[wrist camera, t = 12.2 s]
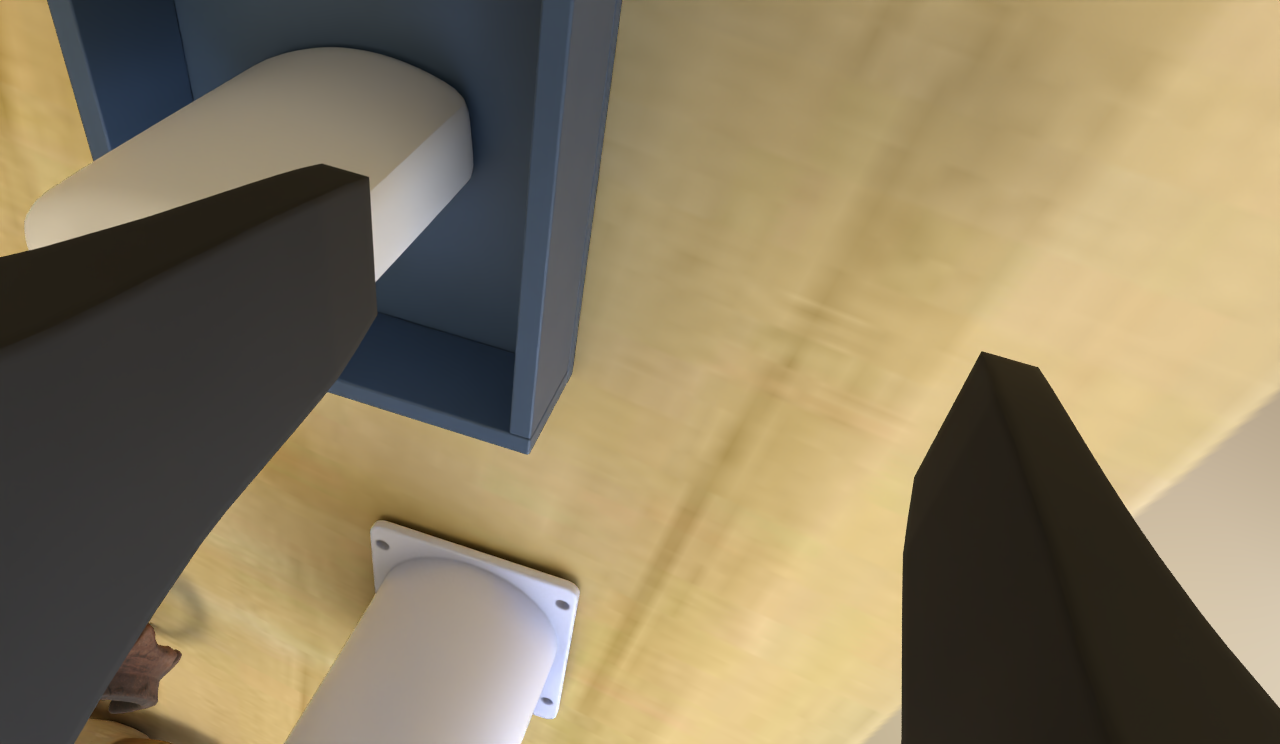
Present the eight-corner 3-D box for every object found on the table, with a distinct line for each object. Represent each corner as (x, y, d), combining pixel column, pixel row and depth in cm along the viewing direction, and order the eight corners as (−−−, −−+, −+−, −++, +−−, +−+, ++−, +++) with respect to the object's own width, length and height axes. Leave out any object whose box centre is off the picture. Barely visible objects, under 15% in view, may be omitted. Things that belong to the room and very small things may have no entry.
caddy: (572, 373, 25) (528, 456, 23) (221, 267, 27) (142, 334, 24) (641, -140, 17) (583, -102, 14) (115, -264, 18) (-27, -249, 15)
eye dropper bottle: (439, 243, 23) (115, 618, 14) (248, 116, 22) (-227, 430, 13) (507, 116, 20) (155, 484, 11) (291, -35, 19) (-276, 234, 10)
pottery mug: (119, 477, 36) (75, 687, 33) (246, 537, 45) (223, 710, 41) (-139, 510, 38) (-208, 715, 34) (31, 563, 46) (-10, 732, 42)
